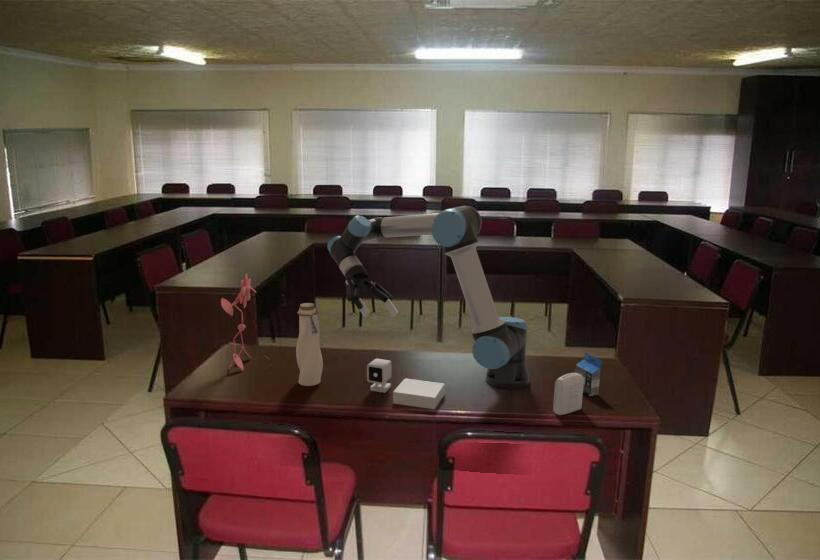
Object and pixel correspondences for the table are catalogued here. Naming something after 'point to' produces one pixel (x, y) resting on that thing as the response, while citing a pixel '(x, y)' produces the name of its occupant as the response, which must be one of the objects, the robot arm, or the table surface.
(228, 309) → the figurine
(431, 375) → the table surface
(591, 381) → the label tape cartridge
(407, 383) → the plinth
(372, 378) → the security camera
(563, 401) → the photo printer
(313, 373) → the water bottle
